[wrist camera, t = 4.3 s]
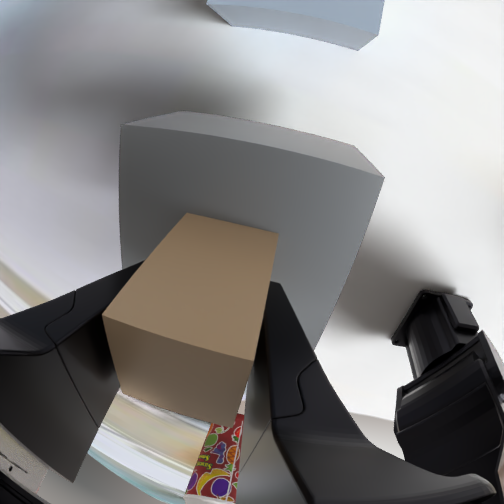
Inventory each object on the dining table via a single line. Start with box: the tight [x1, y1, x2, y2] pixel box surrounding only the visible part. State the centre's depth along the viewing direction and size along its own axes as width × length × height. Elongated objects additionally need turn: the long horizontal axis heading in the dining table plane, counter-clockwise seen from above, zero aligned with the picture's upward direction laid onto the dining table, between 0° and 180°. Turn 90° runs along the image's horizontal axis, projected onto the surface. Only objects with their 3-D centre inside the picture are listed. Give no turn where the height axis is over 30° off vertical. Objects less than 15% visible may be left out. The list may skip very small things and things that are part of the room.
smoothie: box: [183, 413, 244, 504], centre depth 29 cm, size 8×8×20 cm
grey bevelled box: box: [102, 111, 385, 428], centre depth 10 cm, size 8×8×10 cm
